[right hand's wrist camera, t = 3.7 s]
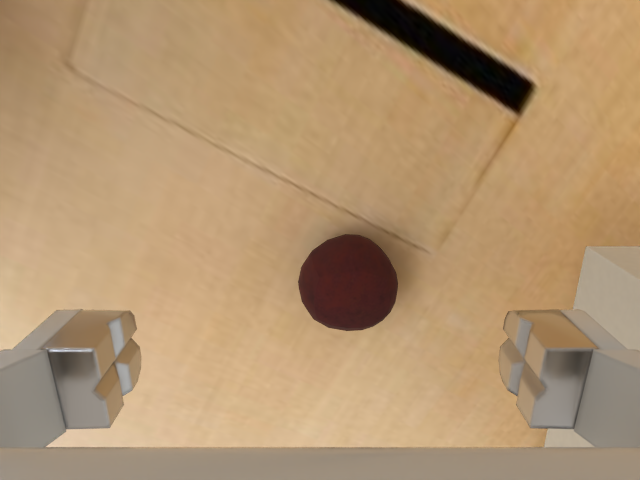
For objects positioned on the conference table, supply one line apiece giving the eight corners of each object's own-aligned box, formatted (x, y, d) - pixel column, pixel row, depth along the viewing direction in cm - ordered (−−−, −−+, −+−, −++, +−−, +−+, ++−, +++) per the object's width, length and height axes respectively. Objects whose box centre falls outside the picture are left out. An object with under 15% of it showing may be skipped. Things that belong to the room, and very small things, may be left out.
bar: (585, 245, 29) (679, 304, 21) (663, 245, 29) (784, 304, 21) (521, 552, 38) (571, 669, 31) (580, 552, 38) (644, 668, 31)
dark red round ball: (389, 302, 40) (402, 347, 33) (301, 303, 40) (297, 349, 33) (392, 222, 37) (407, 254, 31) (298, 224, 37) (293, 256, 31)
